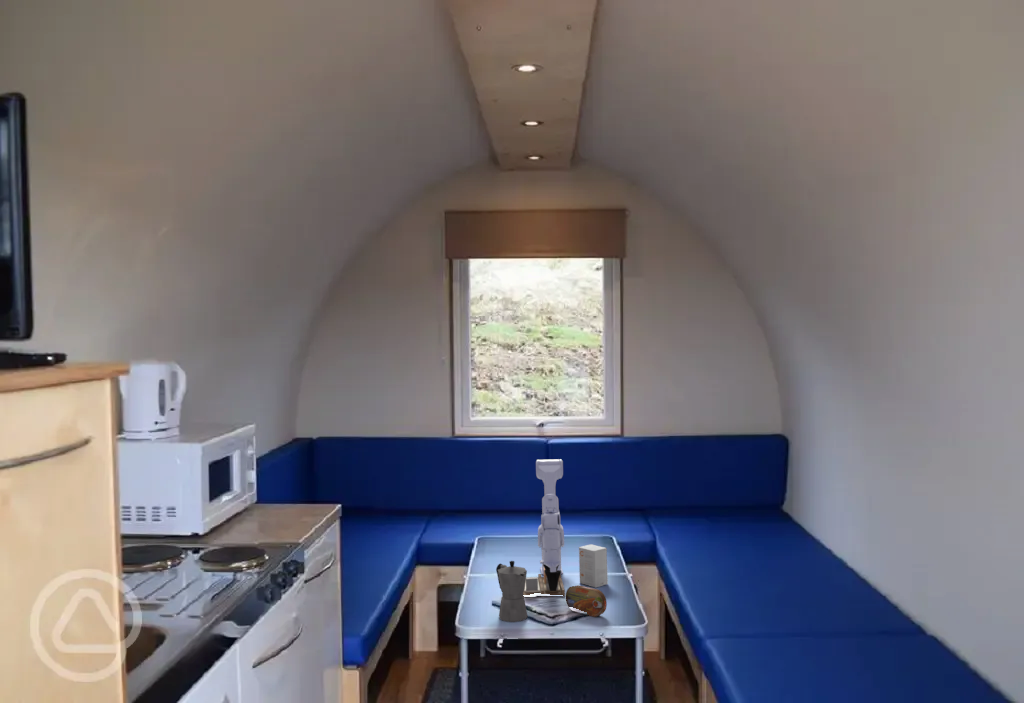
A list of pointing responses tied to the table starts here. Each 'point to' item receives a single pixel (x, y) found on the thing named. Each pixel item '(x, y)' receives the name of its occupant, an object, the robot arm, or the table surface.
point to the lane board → (562, 592)
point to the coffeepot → (512, 592)
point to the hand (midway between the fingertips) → (552, 587)
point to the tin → (586, 600)
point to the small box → (593, 565)
